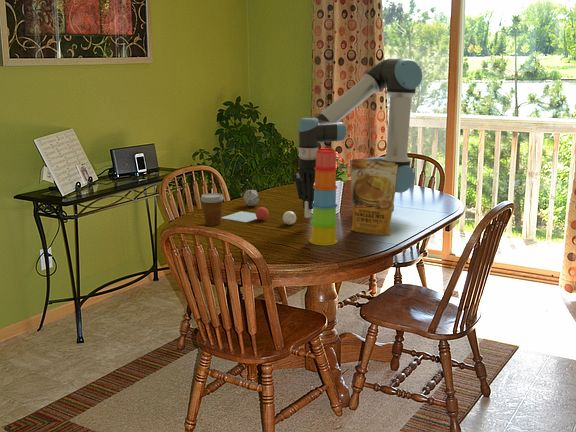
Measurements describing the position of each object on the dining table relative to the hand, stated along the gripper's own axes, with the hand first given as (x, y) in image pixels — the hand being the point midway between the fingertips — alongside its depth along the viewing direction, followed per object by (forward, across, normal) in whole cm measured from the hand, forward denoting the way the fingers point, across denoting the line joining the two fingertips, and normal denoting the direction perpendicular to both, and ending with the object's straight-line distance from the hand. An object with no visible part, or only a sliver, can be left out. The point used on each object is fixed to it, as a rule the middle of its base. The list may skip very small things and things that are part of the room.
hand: (308, 216), depth 282 cm
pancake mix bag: (+4, +25, +7) cm, 26 cm away
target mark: (+5, -33, 0) cm, 34 cm away
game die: (+5, -43, +18) cm, 47 cm away
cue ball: (+2, -9, 0) cm, 9 cm away
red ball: (+2, -23, 0) cm, 23 cm away
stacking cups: (+5, +17, -15) cm, 23 cm away
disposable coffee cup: (+5, -36, -16) cm, 40 cm away
